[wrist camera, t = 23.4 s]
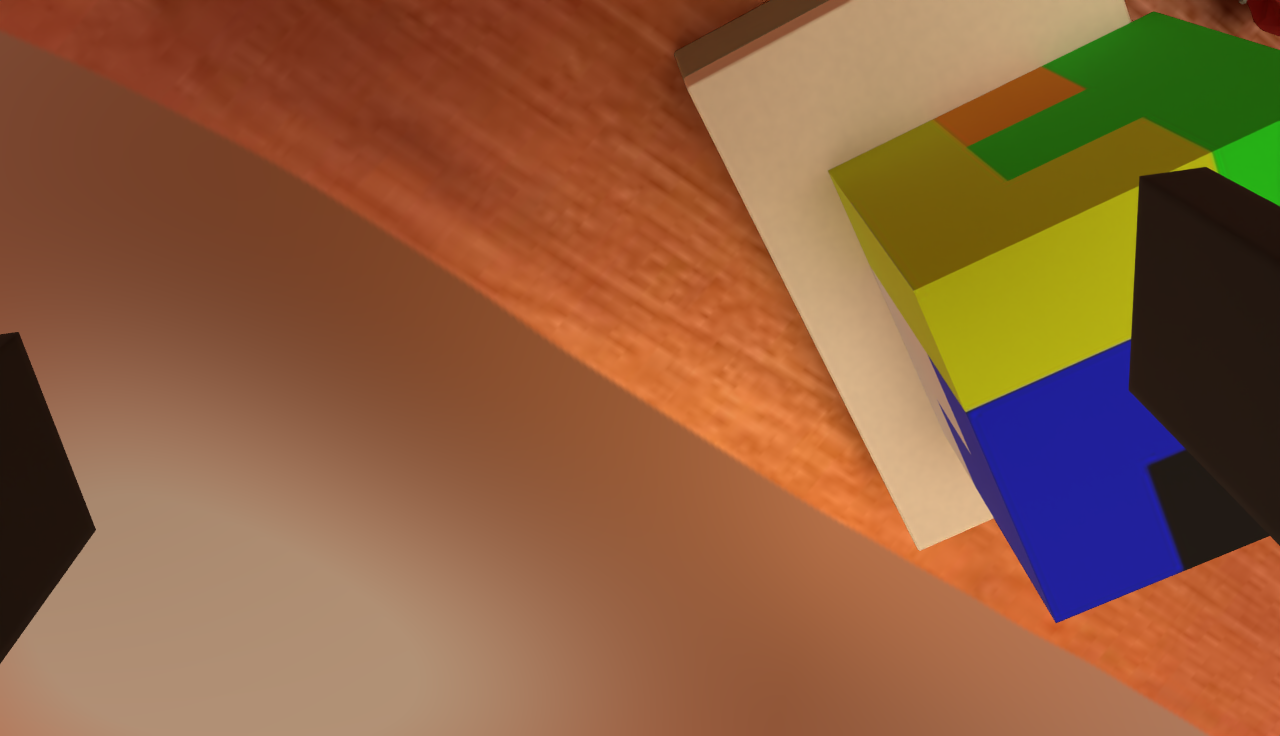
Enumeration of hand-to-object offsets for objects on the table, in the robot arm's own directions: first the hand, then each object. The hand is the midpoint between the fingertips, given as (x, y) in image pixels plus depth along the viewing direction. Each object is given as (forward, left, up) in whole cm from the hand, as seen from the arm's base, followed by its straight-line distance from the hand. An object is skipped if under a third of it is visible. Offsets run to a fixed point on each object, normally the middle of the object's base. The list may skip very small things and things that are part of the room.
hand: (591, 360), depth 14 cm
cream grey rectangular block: (+11, +8, -27) cm, 30 cm away
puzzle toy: (+11, +10, -21) cm, 26 cm away
